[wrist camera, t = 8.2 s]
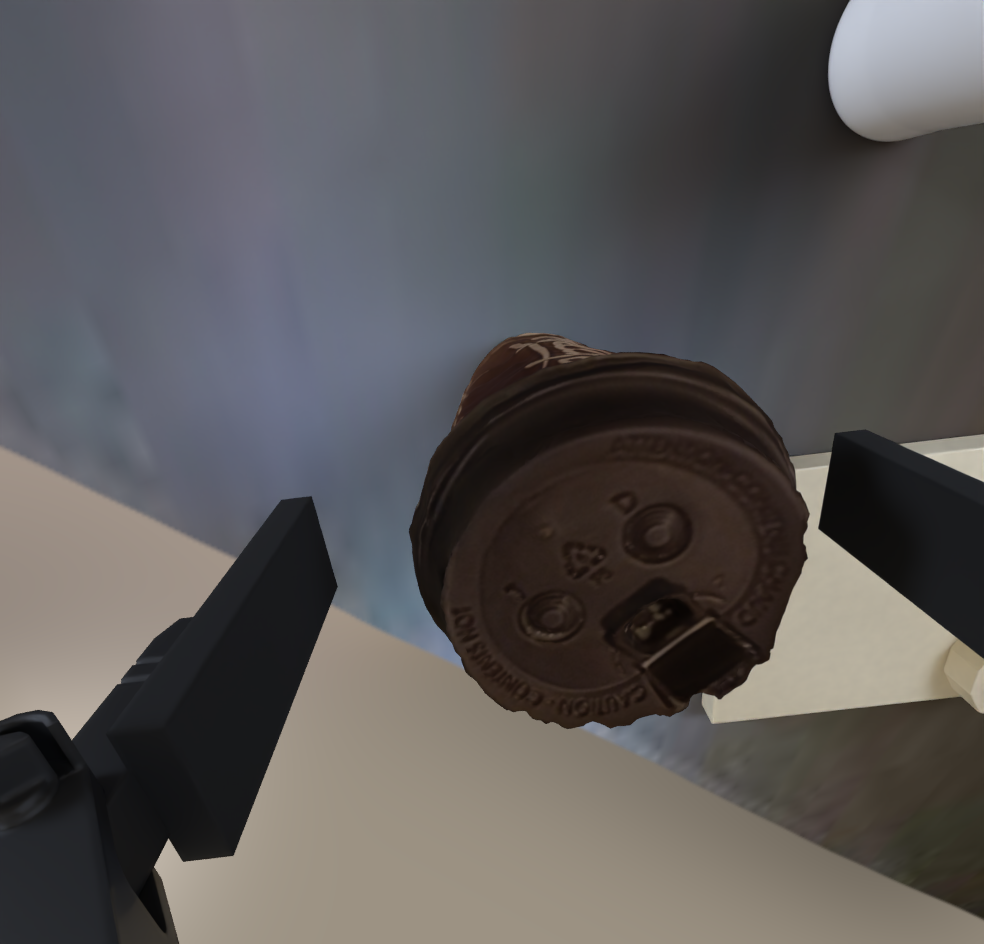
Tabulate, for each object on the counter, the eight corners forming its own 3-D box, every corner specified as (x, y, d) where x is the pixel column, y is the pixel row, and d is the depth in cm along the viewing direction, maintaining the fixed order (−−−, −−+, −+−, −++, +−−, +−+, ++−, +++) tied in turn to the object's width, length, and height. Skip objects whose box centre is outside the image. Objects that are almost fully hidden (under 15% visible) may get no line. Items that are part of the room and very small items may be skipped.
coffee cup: (634, 491, 23) (808, 743, 11) (455, 511, 23) (438, 783, 11) (636, 292, 20) (891, 351, 8) (426, 316, 20) (356, 411, 8)
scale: (1118, 417, 23) (1208, 440, 20) (1016, 668, 29) (1074, 712, 26) (719, 464, 23) (753, 493, 20) (701, 703, 29) (725, 751, 26)
